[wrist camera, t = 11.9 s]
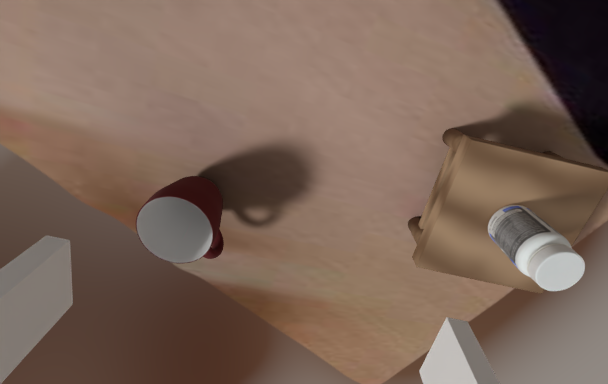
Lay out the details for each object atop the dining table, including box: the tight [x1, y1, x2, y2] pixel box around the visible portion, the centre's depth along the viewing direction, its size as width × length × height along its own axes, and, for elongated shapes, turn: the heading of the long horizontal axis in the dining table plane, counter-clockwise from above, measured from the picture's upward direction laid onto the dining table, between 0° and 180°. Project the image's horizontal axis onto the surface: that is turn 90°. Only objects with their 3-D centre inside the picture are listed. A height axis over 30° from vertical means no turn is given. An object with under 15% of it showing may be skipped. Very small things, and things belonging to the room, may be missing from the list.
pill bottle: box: [488, 205, 585, 291], centre depth 33 cm, size 5×5×8 cm
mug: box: [136, 176, 224, 263], centre depth 42 cm, size 10×8×10 cm
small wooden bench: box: [408, 128, 608, 293], centre depth 41 cm, size 15×15×8 cm
